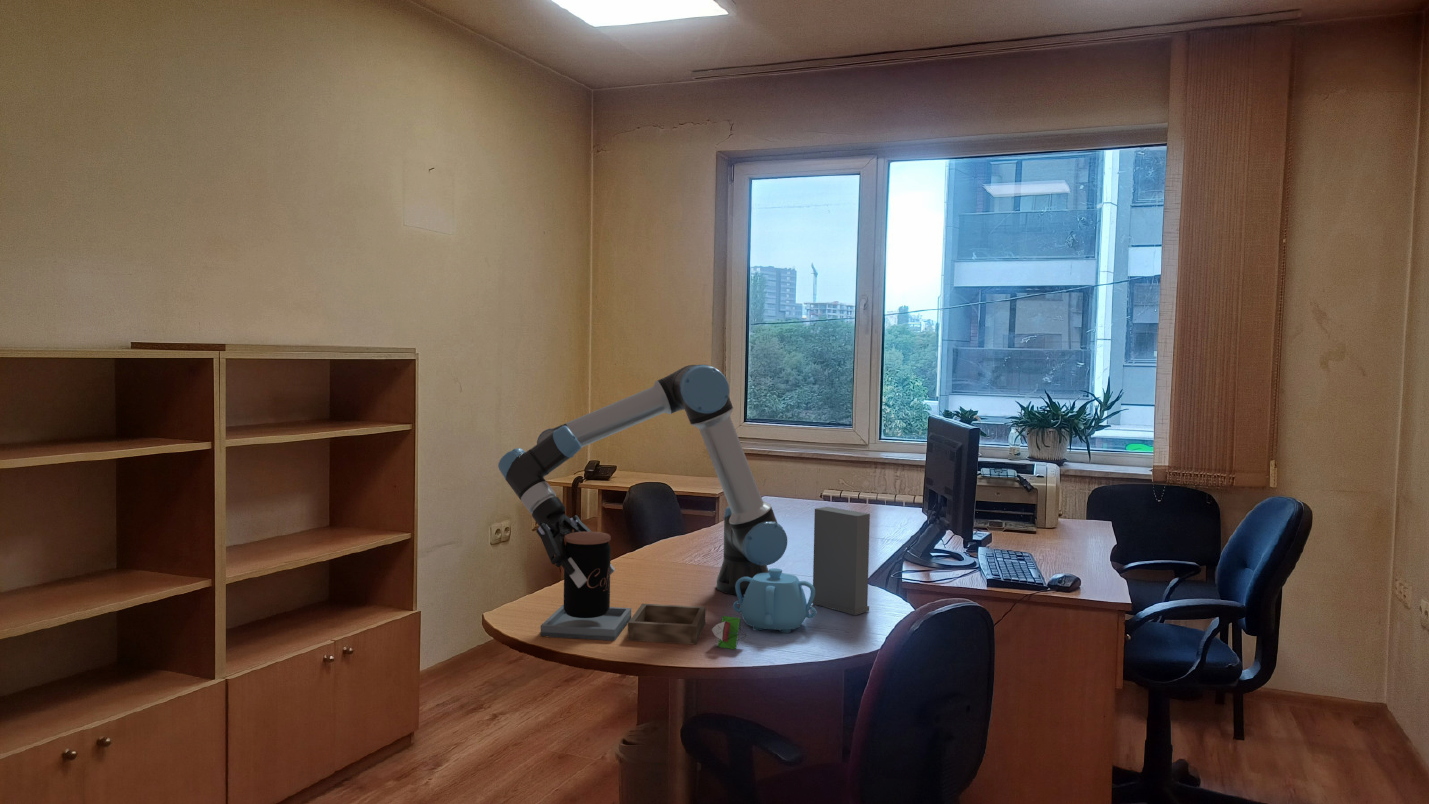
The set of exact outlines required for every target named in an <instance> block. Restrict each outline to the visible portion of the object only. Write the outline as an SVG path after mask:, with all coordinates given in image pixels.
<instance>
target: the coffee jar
mask: <svg viewBox="0 0 1429 804" xmlns="http://www.w3.org/2000/svg"><path fill="white" fill-rule="evenodd" d="M591 531H592V530H591ZM591 531H587V532H574V533H570V534H567V535H565V538H564V541H565V546H566V551H567V556H568V558H567V560H568V559H569V558H572V559H573V561H574V562H575V563H576V565H577V566H578V568H579V569H580V570H581V572H582V573H583V575H584V576H585V577H586V579H587V581H586V582H585V583H584V584H583V585H582V586H581V587H580V588H578V587H577V585H576V584H575V583H574V581H573V580H572V578H571V577H570V576H569V575H568V574H567V573H566V571H565V570H564V569H563V605H564V610H565V612H566V614H567V615H569V616H571V617H576V618H595V617H600V616H603V615H605V614H606V613H607V611H608V609H609V608H610V607H611V606H610V604H611V575H610V563H611V549H612V548H611V544H609V542H610V541H611V540H612V539H611V537H612V536H611V535H610V533H606V532H601V531H592V532H591Z"/></svg>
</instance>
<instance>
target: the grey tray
mask: <svg viewBox="0 0 1429 804" xmlns="http://www.w3.org/2000/svg"><path fill="white" fill-rule="evenodd" d="M631 618H632V607H619V606H618V607H614V606H610V608H609V609H608V611H607V613H606V614H605V615H603V616H600V617H595V618H576V617H571V616H569V615H567V614H566V612H565V610H564V604H562V605H561V606H559V608H558V609H556V611H554V613H552V614H551V615H550V616H549V617H548V618H547V619H546V620H545V621H544V622H543V623H542V624H540V637H542V636H548V637H547V638H564V639H577V640H578V639H579V640H581V639H582V640H593V641H594V640H597V641H598V640H599V641H612V642H613V641H614V642H615V641H616V640H617V638H618V637H619V636H620V635H621V633H622V632H623V630H624V629H625V628H626V626H628V622H629V621H630V619H631Z"/></svg>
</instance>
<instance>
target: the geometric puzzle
mask: <svg viewBox="0 0 1429 804" xmlns="http://www.w3.org/2000/svg"><path fill="white" fill-rule="evenodd" d="M720 619H721V621H720V622H719V623H717V622H716V624H715V625H714V626H713V627H712V628H711V629H710V630H711V632H712V634H713V636H714V637H716V638H717V639H718V641H715V642H716V644H717V647H718V648H722V649H723V648H724V649H729V650H735V651H736V650H737V648H738V646H740V644H741V643H739V640H741V638H740V637H741V635H742V636H743V638H746V636H748V635H747V633H746V632H745V631H743V630H741V627H740V624H741V617H734V616H727V615H722V616H721V618H719V620H720ZM743 629H745V628H744V626H743ZM739 631H740V632H739ZM741 632H742V633H741ZM738 635H739V636H738ZM742 641H744V639H742ZM742 641H741V642H742ZM738 643H739V645H738Z"/></svg>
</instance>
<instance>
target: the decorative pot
mask: <svg viewBox="0 0 1429 804" xmlns="http://www.w3.org/2000/svg"><path fill="white" fill-rule="evenodd" d="M768 571H769V573H758V574H756V575H755V576H754V577H753V578H750V577H742V578H740V579H739V580H738V581H737V582H736V585H735V590H736V594H737V595H736V598H737V599H738V600H735V601H734V603H733V604H732V608H733V610H734V611H735V612H737V613H740V614H741V617H742V619H743V620H744V622H745V624H746V625H748V626H750V627H752V629H753V630H754V631H764V630H765V629H766V630H779V632H780V633H786V634H787V633H791V632H792V630H795V629H798V628H799V627H801V626H802V624H803V623H804V621H805V620H806V618H807V619H813V618H815V617H816V616H817V614H818V613H817V609H816V608H815V607H813V606H812V605H813V604H812V602H813V599H814V596H815V588H814V586H813V583H811V582H809V581H808V580H801V581H800V579H799V578H798V577H797V576H796V575H794V574H788V573H783V570H782V569H780V568H776V567H775V568H773V567H772V568H769V569H768ZM743 581H748V582H750V584H749V586H748V588H747V590H746V592H745V595H742V594H741V591H740V583H741V582H743ZM803 586H804V587H806V588H808V589H810V593H809V594H810V595H809V599H808V601H807V598H806V594H805V591H804V589H803ZM738 605H739V606H738ZM810 611H812V613H810Z"/></svg>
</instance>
